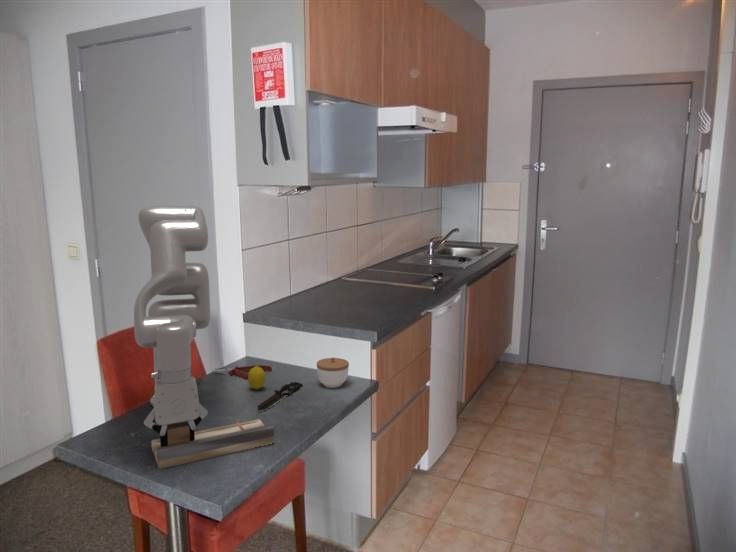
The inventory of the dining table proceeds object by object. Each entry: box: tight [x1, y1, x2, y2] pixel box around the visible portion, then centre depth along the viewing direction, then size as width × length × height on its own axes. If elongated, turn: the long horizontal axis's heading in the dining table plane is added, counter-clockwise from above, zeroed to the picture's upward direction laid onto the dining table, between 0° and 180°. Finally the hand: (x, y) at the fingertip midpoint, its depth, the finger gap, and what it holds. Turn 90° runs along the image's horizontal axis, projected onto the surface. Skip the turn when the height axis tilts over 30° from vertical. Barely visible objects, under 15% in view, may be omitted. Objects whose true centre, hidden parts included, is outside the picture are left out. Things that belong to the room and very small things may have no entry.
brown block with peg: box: [166, 421, 190, 445], centre depth 134 cm, size 9×5×6 cm, turn 29°
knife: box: [257, 381, 304, 412], centre depth 171 cm, size 25×6×1 cm, turn 154°
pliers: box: [211, 364, 273, 381], centre depth 192 cm, size 12×20×3 cm, turn 82°
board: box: [150, 418, 275, 470], centre depth 139 cm, size 13×28×4 cm, turn 119°
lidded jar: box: [316, 357, 350, 389], centre depth 183 cm, size 11×11×9 cm
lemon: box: [247, 365, 266, 391], centre depth 177 cm, size 6×6×8 cm
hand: (177, 445), depth 132 cm, fingers closed on brown block with peg, 5 cm apart
